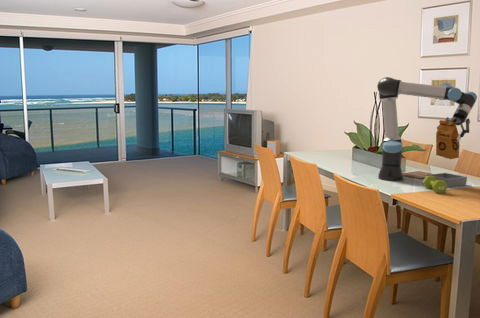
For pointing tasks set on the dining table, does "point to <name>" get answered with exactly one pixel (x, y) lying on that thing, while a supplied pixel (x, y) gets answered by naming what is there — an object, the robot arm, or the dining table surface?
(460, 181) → the tray
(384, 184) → the dining table surface
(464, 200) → the dining table surface
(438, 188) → the dumbbell
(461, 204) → the dining table surface
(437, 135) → the coffee package
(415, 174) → the board
